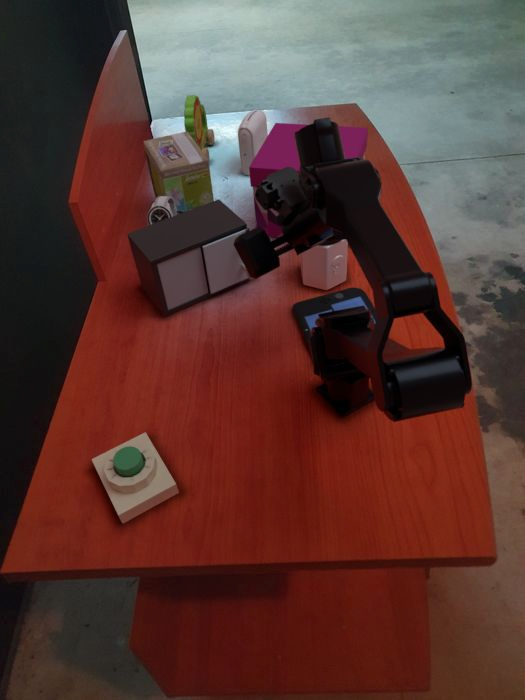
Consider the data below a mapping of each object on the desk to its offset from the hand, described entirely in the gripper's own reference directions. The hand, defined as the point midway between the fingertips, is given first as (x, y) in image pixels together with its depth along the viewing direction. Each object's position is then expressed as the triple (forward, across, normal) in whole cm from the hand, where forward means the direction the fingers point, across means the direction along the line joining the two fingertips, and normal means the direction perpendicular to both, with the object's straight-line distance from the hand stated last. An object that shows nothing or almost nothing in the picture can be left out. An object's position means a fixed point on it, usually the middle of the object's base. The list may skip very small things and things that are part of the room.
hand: (275, 249), depth 89 cm
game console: (+3, -6, +16) cm, 17 cm away
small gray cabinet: (+21, +6, -2) cm, 22 cm away
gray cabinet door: (+15, +2, +2) cm, 15 cm away
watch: (+30, +4, -12) cm, 33 cm away
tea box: (+37, -5, -18) cm, 41 cm away
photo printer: (+42, -28, -23) cm, 56 cm away
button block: (0, +35, +20) cm, 40 cm away
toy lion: (+52, -21, -33) cm, 65 cm away
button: (-3, +35, +17) cm, 39 cm away
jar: (+12, -13, +7) cm, 19 cm away
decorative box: (+24, -24, -5) cm, 34 cm away
